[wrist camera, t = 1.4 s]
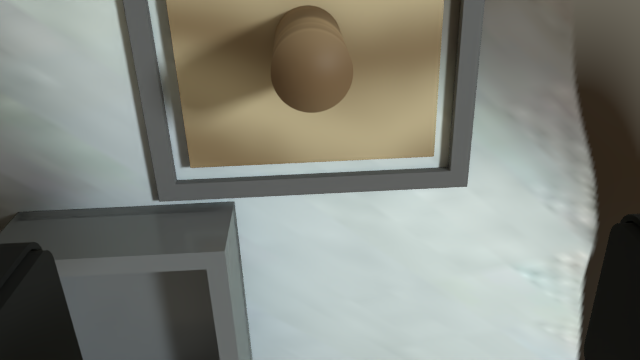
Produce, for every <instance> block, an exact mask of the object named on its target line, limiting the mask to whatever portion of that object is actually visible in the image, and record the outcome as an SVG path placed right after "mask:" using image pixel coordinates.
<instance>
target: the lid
mask: <svg viewBox="0 0 640 360" xmlns="http://www.w3.org/2000/svg"><path fill="white" fill-rule="evenodd" d="M166 4H167V11H168V18H169V25H170V31H171V38H172V45H173V52H174V59H175V65H176V72H177V79H178V86H179V93H180V99H181V106H182V113H183V120H184V127H185V133H186V140H187V147H188V154H189V161H190V167H191V168H198V167H219V166H241V165H262V164H283V163H304V162H326V161H347V160H368V159H389V158H411V157H432V156H434V145H435V130H436V114H437V99H438V83H439V68H440V52H441V37H442V22H443V6H444V0H166Z"/></svg>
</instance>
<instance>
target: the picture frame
mask: <svg viewBox="0 0 640 360" xmlns="http://www.w3.org/2000/svg"><path fill="white" fill-rule="evenodd" d="M484 3H485V0H461V8H460V21H459V34H458V47H457V60H456V73H455V86H454V99H453V112H452V125H451V138H450V151H449V164H448V167H444V168H423V169H403V170H382V171H361V172H340V173H319V174H299V175H278V176H257V177H236V178H215V179H194V180H177V178H176V172H175V166H174V160H173V154H172V148H171V142H170V135H169V129H168V123H167V117H166V111H165V105H164V99H163V92H162V86H161V80H160V74H159V68H158V62H157V56H156V50H155V43H154V37H153V31H152V25H151V19H150V13H149V7H148V1H147V0H123V4H124V9H125V15H126V20H127V26H128V31H129V37H130V42H131V48H132V53H133V59H134V64H135V70H136V75H137V81H138V86H139V92H140V97H141V103H142V108H143V114H144V119H145V125H146V130H147V136H148V141H149V147H150V152H151V158H152V163H153V169H154V174H155V180H156V185H157V191H158V196H159V202H161V201H182V200H202V199H223V198H243V197H264V196H284V195H304V194H325V193H345V192H366V191H386V190H407V189H427V188H448V187H467V182H468V172H469V161H470V151H471V140H472V130H473V119H474V109H475V98H476V87H477V77H478V66H479V56H480V45H481V35H482V24H483V14H484Z"/></svg>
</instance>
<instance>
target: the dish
mask: <svg viewBox="0 0 640 360" xmlns="http://www.w3.org/2000/svg"><path fill="white" fill-rule="evenodd" d="M23 242H36V243H38V244H39V245H40V246H41V247H42V250H48V251H50V252H51V253H52V255H53V257H54V260H55V263H56V267H57V270H58V274H59V277H60V281H61V284H62V288H63V291H64V295H65V298H66V302H67V305H68V309H69V312H70V316H71V319H72V323H73V326H74V330H75V333H76V337H77V340H78V344H79V347H80V351H81V354H82V358H83V360H252V352H251V343H250V334H249V325H248V317H247V308H246V299H245V290H244V282H243V273H242V264H241V255H240V247H239V238H238V229H237V220H236V212H235V203H234V202H217V203H196V204H176V205H156V206H135V207H115V208H95V209H74V210H54V211H33V212H18V213H17V214H16V215H15V217H14V218H13V219H12V220H11V221H10V222H9V223H8V225H7V226H6V227H5V228H4V229H3V230H2V231H1V232H0V244H2V243H23Z"/></svg>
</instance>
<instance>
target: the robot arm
mask: <svg viewBox="0 0 640 360" xmlns="http://www.w3.org/2000/svg"><path fill="white" fill-rule="evenodd" d="M584 356H585V360H640V214H628V215H626V216H624V217H623V219H622V220H621V222H620V223H619V224H618V223H617V224H615V225H614V226H613V227H612V229H611V232H610V235H609V240H608V244H607V248H606V253H605V257H604V261H603V266H602V270H601V275H600V279H599V283H598V287H597V292H596V296H595V300H594V305H593V309H592V313H591V318H590V322H589V327H588V331H587V335H586V339H585V344H584ZM0 360H83V358H82V354H81V351H80V347H79V344H78V340H77V337H76V333H75V330H74V326H73V323H72V319H71V316H70V312H69V309H68V305H67V302H66V298H65V295H64V291H63V288H62V284H61V281H60V277H59V274H58V270H57V267H56V263H55V260H54V257H53V255H52V253H51V252H50V251H48V250H42V247H41V246H40V245H39V244H38V243H36V242H23V243H2V244H0Z"/></svg>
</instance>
